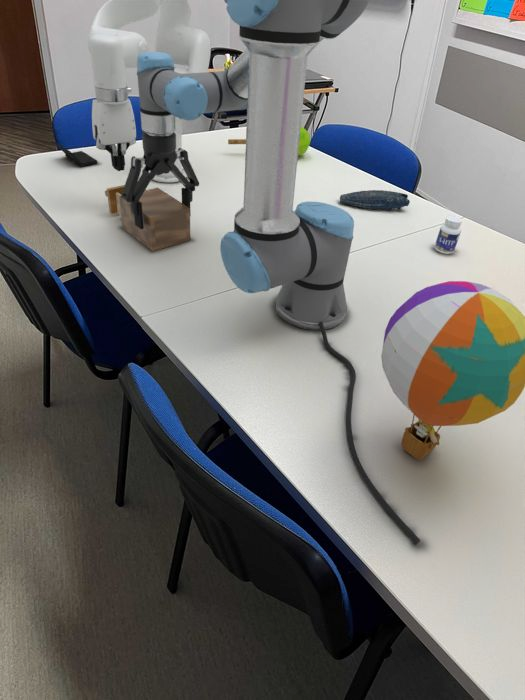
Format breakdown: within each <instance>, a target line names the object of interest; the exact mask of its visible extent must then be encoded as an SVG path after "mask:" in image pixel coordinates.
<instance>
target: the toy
mask: <svg viewBox="0 0 525 700" xmlns="http://www.w3.org/2000/svg"><path fill="white" fill-rule="evenodd" d="M380 357H381V358H380V359H381V367H382V370H383V372H384V375H385V377H386V379H387V381H388V384H389V386H390V388H391V390H392V393H393V394H394V395H395V397H396V398H397V399H398V400H399V401H400V402H401V403H402V405H403V406H404V407H405V408H407V410H408V411H409V412H410V413H412V414H413V415H412V422H411V424H410V427H409V426H407V427H405V428H404V432H403V435H402V437H401V442H400V445H401V446H400V447H401V448H402V450H404V451H406V453H408V454H409V455H410V456H412V457H413V458H414V459H416V460H417V461H421V460H423V459H425V458H426V457H427V456H428V455H429V454H430V453H432V452H433V451H434V450H435V448H436V447H437V446H439V445H440V442H439V441H440V439H441V434H439V431H440V429H441V428H442V427H456V426H467V425H476V424H479V423H482V422H484V421H486V420H488V419H490V418H492V417H495V416H497V415H498V414H501V413H503V412H505V411H507V410H508V409H509V408H510V407H511V406H513V405H514V404H515V403H516V402H517V400H518V399H519V397H520V396H521V394H522V393H523V391H524V390H525V315H524V314H523V313H522V312H521V310H519V308H518V307H517V306H516V305H515V303H514V302H513V301H511V299H510V298H509V297H507V296H506V295H504V294H503V293H501V292H499V291H498V290H496V289H494V288H493V287H489V286H487V285H484V284H481V283H476V282H472V281H465V280H454V281H453V280H449V281H445V282H441V283H437V284H433V285H429V286H426V287H423V288H422V289H419V290H418V291H416V292H415V293H414V294H412V295H411V296H410V297H409V298H408V299H407V300H405V302H404V303H403V304H401V305H400V306H399V307H398V308H397V309H396V310H395V312H394V313H393V314H392V316H391V317H390V318H389V320H388V322H387V325H386V328H385V330H384V335H383V343H382V349H381V355H380ZM415 417H416V418H417V419H418V421H416V422H415V423H414V420H415ZM434 427H438V429H436V431H435V428H434Z"/></svg>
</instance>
